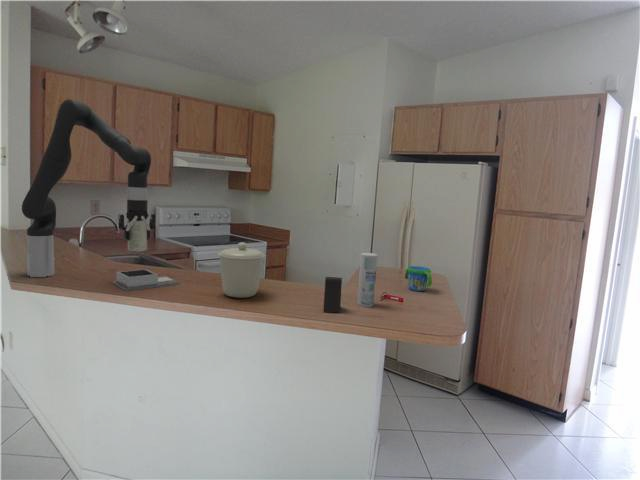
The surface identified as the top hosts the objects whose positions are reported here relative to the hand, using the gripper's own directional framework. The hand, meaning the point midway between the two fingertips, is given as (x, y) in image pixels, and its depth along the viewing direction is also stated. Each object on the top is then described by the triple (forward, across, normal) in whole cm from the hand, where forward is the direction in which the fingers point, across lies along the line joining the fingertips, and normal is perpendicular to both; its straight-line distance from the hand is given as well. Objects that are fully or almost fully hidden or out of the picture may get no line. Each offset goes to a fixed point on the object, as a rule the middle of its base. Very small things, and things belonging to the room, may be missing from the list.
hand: (137, 239), depth 171 cm
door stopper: (+19, -44, +68) cm, 83 cm away
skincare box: (+5, 0, 0) cm, 5 cm away
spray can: (+19, -60, +71) cm, 95 cm away
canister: (+19, -27, +34) cm, 47 cm away
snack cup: (+19, -100, +69) cm, 123 cm away
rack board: (+19, -4, 0) cm, 19 cm away
